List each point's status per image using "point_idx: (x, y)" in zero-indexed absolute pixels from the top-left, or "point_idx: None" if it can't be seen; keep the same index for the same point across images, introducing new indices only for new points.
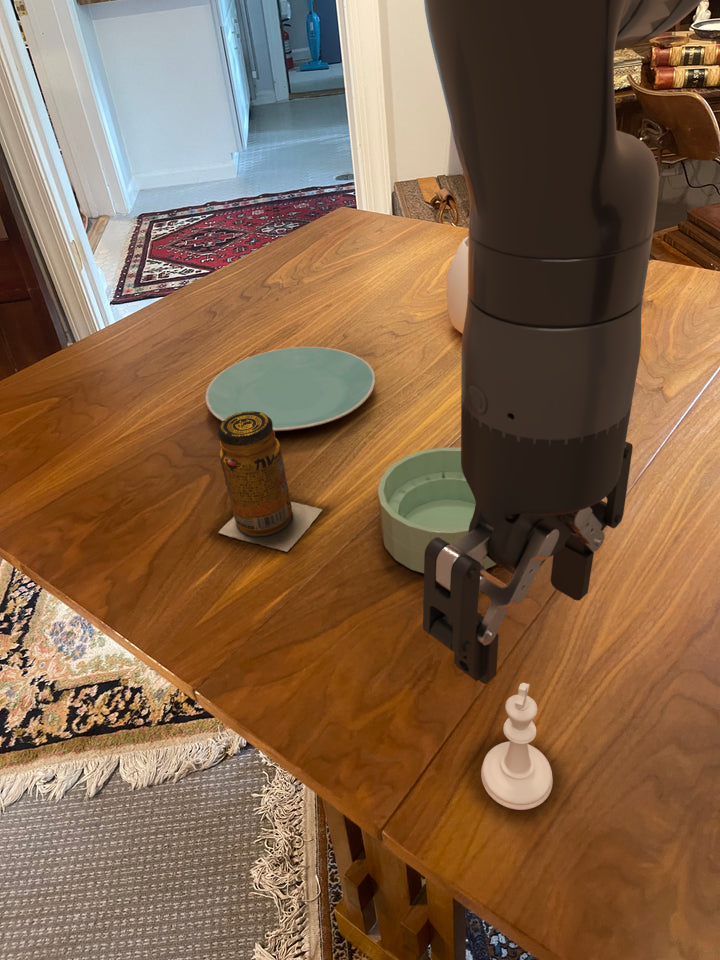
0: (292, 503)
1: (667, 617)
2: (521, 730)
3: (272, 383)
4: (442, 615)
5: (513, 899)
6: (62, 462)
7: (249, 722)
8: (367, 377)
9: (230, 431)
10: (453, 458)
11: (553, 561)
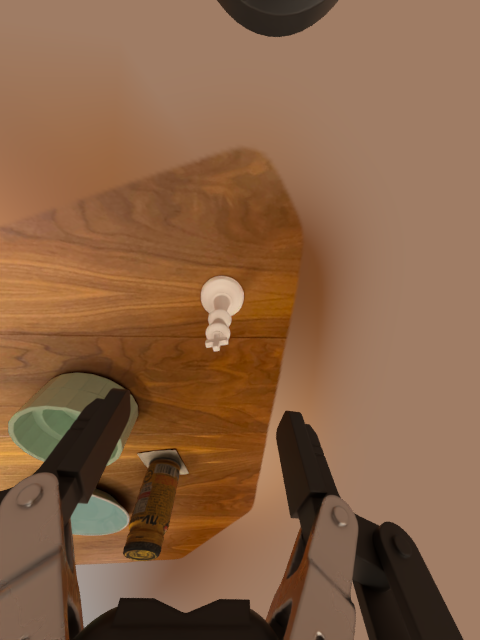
0: (145, 464)
1: (27, 261)
2: (223, 320)
3: (81, 515)
4: (371, 588)
5: (290, 265)
6: (200, 526)
7: (270, 408)
8: None
9: (152, 555)
10: (39, 446)
11: (110, 456)
